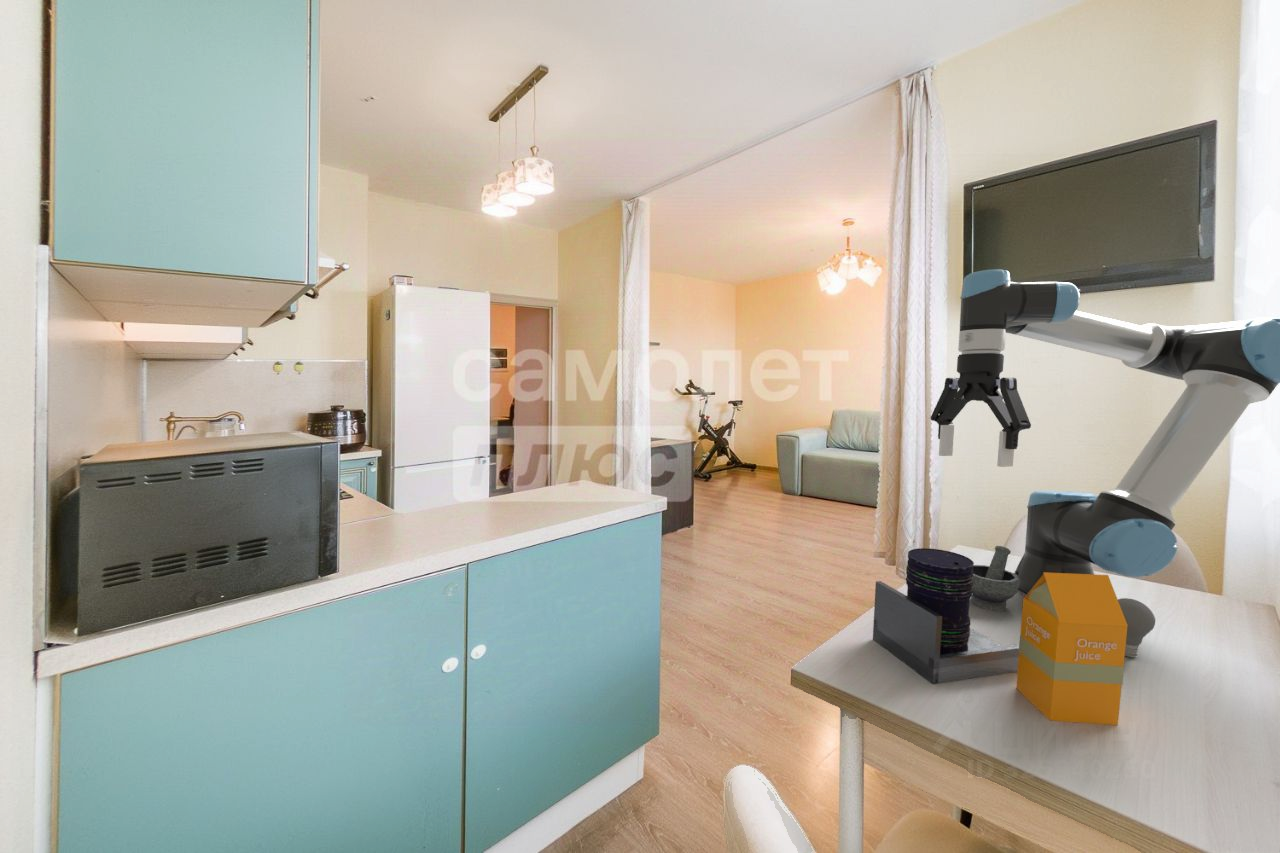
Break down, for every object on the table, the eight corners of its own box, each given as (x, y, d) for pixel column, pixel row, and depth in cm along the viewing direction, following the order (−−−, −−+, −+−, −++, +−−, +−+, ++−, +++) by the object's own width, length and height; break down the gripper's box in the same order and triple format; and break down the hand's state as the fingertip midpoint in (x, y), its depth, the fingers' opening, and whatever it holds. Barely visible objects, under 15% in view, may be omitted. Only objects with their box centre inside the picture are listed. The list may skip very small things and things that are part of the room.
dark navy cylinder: (889, 633, 89) (894, 552, 88) (928, 623, 93) (932, 545, 92) (942, 662, 80) (948, 572, 79) (982, 650, 84) (988, 563, 83)
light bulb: (1138, 649, 89) (1143, 595, 88) (1159, 667, 84) (1166, 609, 83) (1096, 643, 91) (1101, 590, 90) (1114, 660, 86) (1120, 604, 85)
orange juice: (1015, 687, 78) (1024, 562, 76) (1076, 691, 77) (1088, 565, 75) (1050, 721, 70) (1062, 583, 68) (1119, 726, 69) (1133, 586, 67)
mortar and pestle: (1002, 618, 101) (1007, 560, 100) (953, 601, 109) (956, 547, 108) (1027, 605, 107) (1031, 550, 106) (978, 590, 115) (982, 538, 114)
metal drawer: (950, 629, 96) (953, 574, 95) (1020, 670, 82) (1025, 606, 81) (872, 639, 92) (875, 581, 91) (932, 684, 79) (936, 616, 78)
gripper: (915, 355, 109) (910, 452, 111) (1027, 348, 85) (1017, 472, 87) (944, 356, 111) (939, 451, 113) (1062, 349, 87) (1052, 470, 88)
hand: (973, 460), depth 100 cm, fingers open, 13 cm apart
